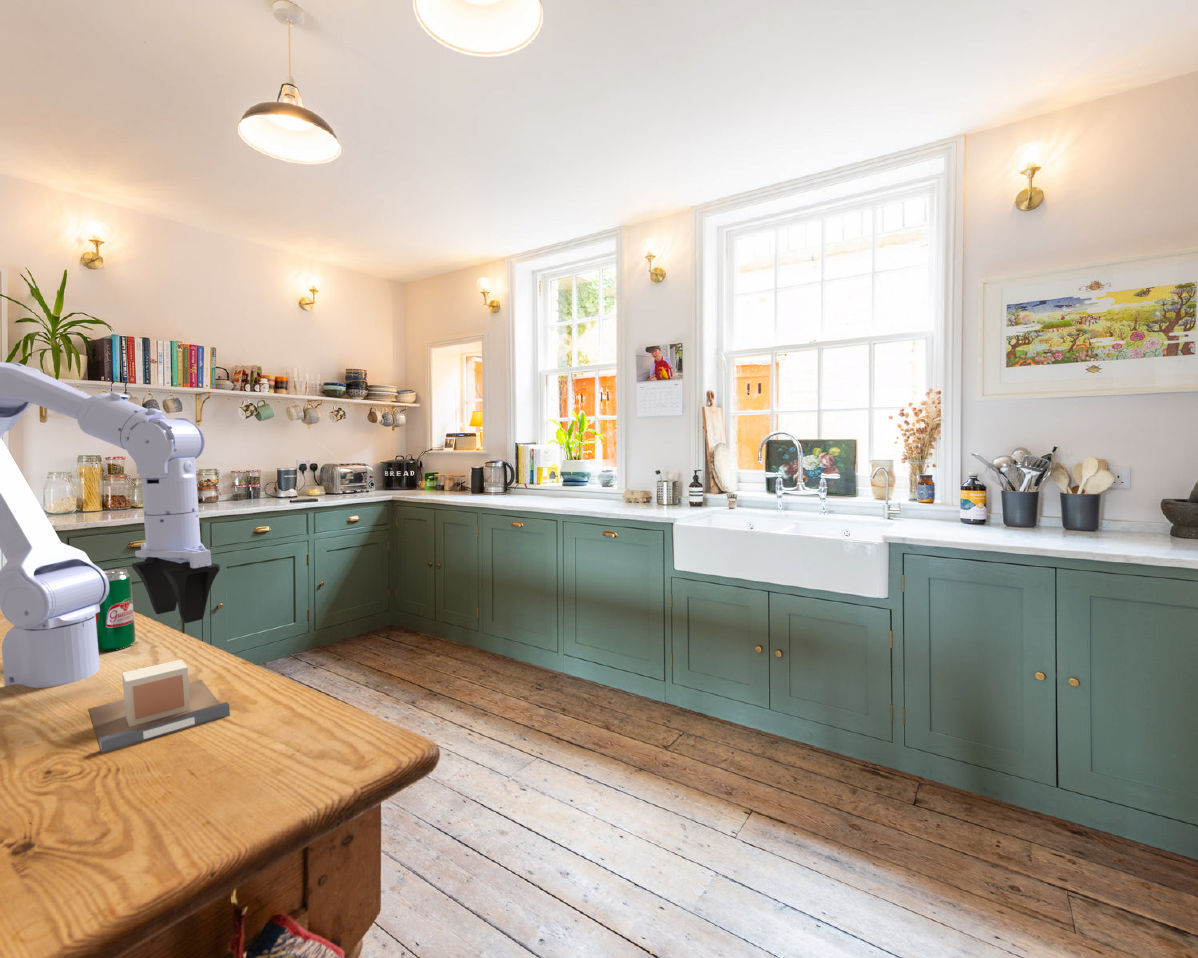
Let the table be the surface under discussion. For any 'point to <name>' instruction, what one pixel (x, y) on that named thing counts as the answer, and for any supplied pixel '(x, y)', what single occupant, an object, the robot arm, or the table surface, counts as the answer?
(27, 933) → the table surface
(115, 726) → the shelf board
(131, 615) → the soda can
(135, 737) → the rail
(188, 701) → the carton
